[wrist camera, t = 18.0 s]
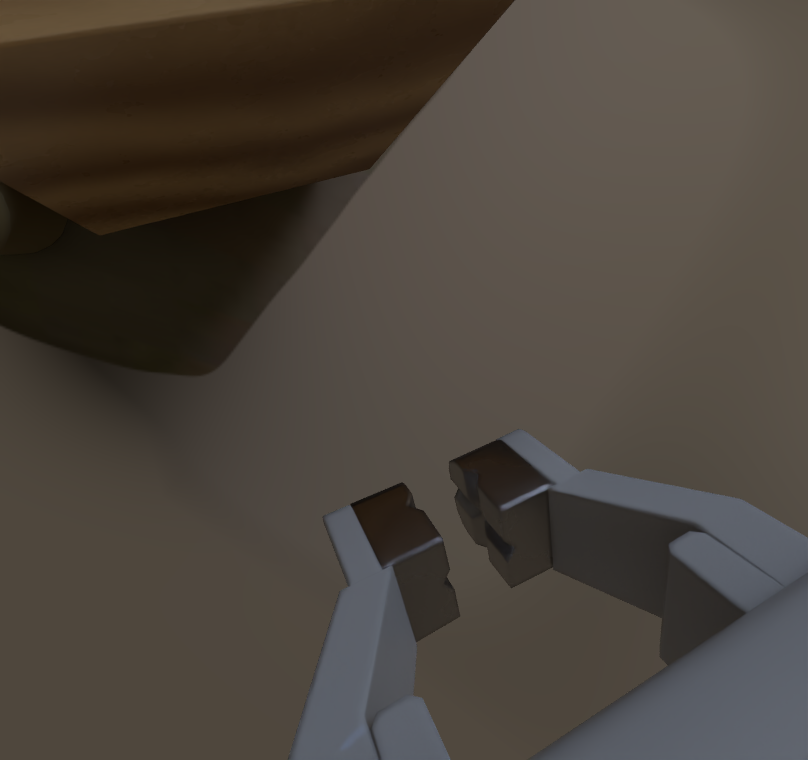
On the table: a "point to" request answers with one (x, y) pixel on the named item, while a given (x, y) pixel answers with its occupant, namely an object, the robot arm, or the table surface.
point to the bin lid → (212, 96)
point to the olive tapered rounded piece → (26, 223)
